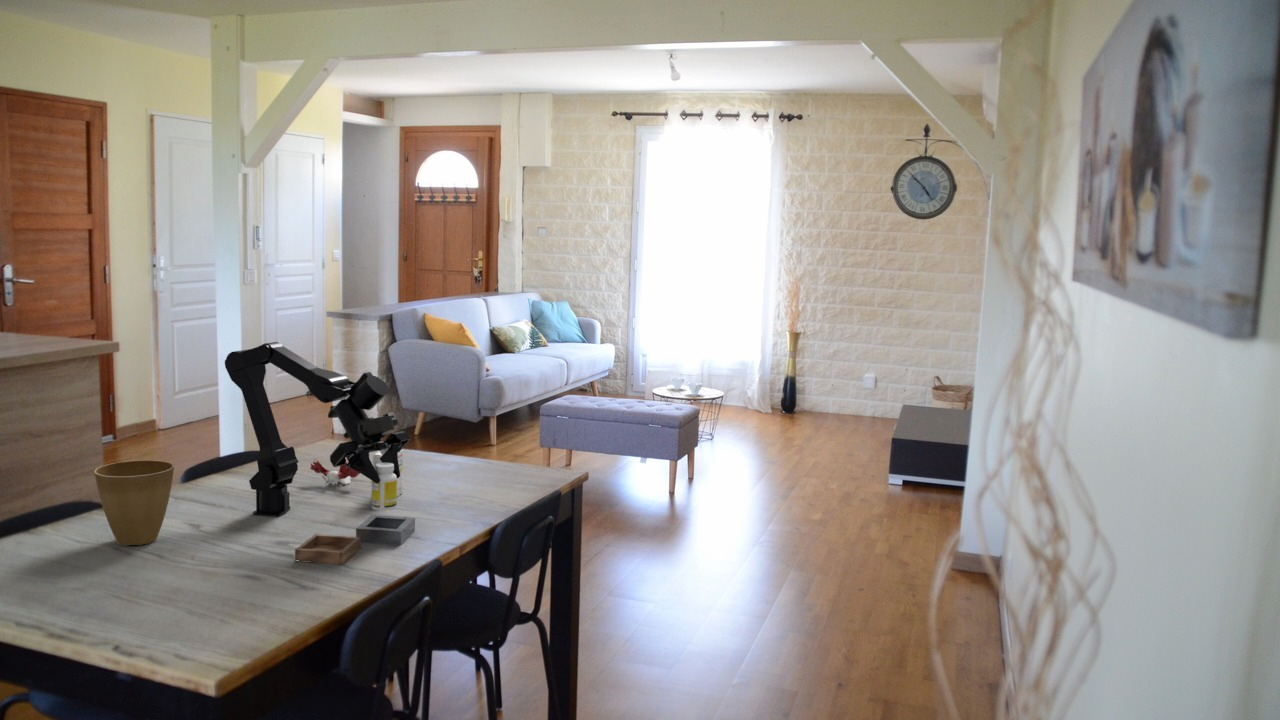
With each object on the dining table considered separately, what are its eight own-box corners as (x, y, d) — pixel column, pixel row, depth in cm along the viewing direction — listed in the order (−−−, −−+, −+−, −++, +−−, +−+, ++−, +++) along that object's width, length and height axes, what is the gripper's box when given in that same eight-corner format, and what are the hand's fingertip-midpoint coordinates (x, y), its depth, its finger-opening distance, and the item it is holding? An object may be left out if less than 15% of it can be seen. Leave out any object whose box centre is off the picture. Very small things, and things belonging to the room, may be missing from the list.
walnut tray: (295, 561, 198) (295, 549, 197) (315, 545, 208) (315, 534, 207) (343, 564, 197) (343, 552, 197) (360, 548, 207) (360, 537, 207)
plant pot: (191, 534, 211) (189, 463, 209) (139, 556, 197) (136, 479, 194) (134, 526, 215) (132, 456, 213) (79, 546, 200) (76, 471, 198)
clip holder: (356, 541, 211) (356, 528, 211) (371, 527, 221) (372, 515, 221) (400, 544, 210) (401, 531, 210) (414, 530, 220) (415, 517, 220)
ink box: (391, 502, 241) (391, 456, 239) (372, 500, 242) (372, 454, 240) (403, 493, 249) (404, 448, 248) (385, 491, 250) (385, 447, 248)
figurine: (375, 482, 258) (375, 458, 257) (352, 493, 247) (352, 468, 246) (325, 476, 262) (325, 452, 261) (300, 487, 251) (300, 462, 250)
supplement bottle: (398, 504, 217) (399, 462, 216) (393, 511, 212) (394, 468, 211) (374, 503, 217) (375, 460, 216) (368, 510, 212) (369, 467, 210)
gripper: (339, 406, 206) (373, 467, 201) (405, 396, 221) (439, 452, 217) (314, 436, 211) (347, 496, 207) (381, 424, 226) (413, 479, 222)
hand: (388, 479), depth 213 cm, fingers closed on supplement bottle, 5 cm apart
